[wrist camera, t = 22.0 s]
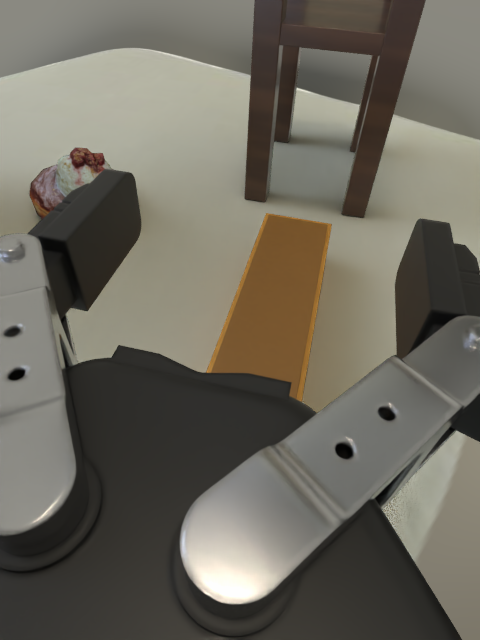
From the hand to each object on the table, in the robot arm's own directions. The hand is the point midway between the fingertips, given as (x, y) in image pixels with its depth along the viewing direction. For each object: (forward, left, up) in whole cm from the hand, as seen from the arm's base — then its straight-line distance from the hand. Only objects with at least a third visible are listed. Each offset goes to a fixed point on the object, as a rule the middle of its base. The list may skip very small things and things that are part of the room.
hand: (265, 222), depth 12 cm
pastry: (-23, +6, -12) cm, 26 cm away
